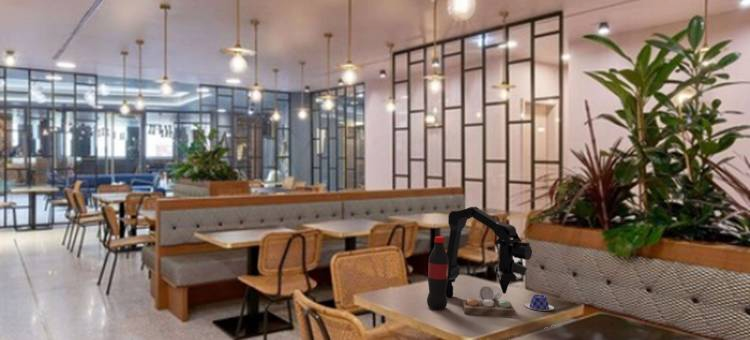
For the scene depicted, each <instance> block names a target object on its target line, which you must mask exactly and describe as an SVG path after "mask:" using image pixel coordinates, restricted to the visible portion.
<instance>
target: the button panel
mask: <svg viewBox="0 0 750 340" xmlns="http://www.w3.org/2000/svg"><path fill="white" fill-rule="evenodd" d="M461 301H462V303H461V305H462V309H463V313H464V315H476V314H479V316H481V315H482V316H493V315H496V316H498V317H510V316H513V317H512V318H514V317H515V316H516V310H515V309H514V306H513V305H512V303H511V302H510V306H509V308H503V307H498V306H499V301H496V300H494V305H493V307H486V306H483V300H478V306H468V305H467V299H462V300H461ZM480 314H481V315H480Z"/></svg>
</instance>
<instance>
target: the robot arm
mask: <svg viewBox="0 0 750 340" xmlns="http://www.w3.org/2000/svg"><path fill="white" fill-rule="evenodd" d="M472 218H473V219H474V220H476V221H478V222H479V223H481V224H482V225H483V226H486V227H487V228H489V229H490V230H492V232H493V233H494V235H495V236H496V237H498V239H497V240H495V241H494V244H497V245H498V257H497V260H498V261H497V262H498V263H497V264H496V265H495V266H494V272H495V273H497V272H498V273H497V274H496V278H497V281H498V282H499V286H500V289H501V291H502V295H503V294H504V295H505V294H507V291H508V287H509V285H510V282H517V275H516V274H515V272H516V273H518V274H520V275H522V276H525V275H526V272H527V270H528V267H526V266H525V265H523V262H522V261H520V260H517V261H515V260H514V258H515V259H521V260H526V261H529V260H530V259H531V258H532V255H533V250H532V247H531V246H530V242H524V241H522V240H521V238H520V236H519V235H518V232H517V228H516V227H515V226H514V225H512V224H510V223H507V222H504V221H499V220H498V219H496V218H495V217H493V216H491V215H489V214H488V213H486V212H485V211H483V210H481V209H480V208H479V207H477V206H469V207H467V208H465V209H459V210H452V211H450V212H449V214H448V220H447V221H448V226H449V230H450V231H449V238H448V242H447V247H446V248H447V249H446V254H447V256H448V260H449V263H448V283H447V288H446V296H447V299H448V298H449V299H452V298H453V296H454V285H453V283H455V282H456V280H457V278H459V277H458V276H459V275H460V270H461V266H460V265H459V264H458V262H457V260H458V255H459V254H458V253H459V248H460V244H461V243H460V242H461V236H462V231H463V229H465V228H464V227H466V224H467V221H468V219H472Z"/></svg>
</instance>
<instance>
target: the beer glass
mask: <svg viewBox="0 0 750 340" xmlns="http://www.w3.org/2000/svg"><path fill="white" fill-rule="evenodd" d="M502 295H503V292H502V289H501V287H499V286H497V285H488V284H487V285H484V286H482V287H480V289H479V291H478V297H479V298H480V301H483V300H485V299H488V300H493V301H499V300H501V297H502Z"/></svg>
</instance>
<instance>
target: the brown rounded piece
mask: <svg viewBox="0 0 750 340" xmlns="http://www.w3.org/2000/svg"><path fill="white" fill-rule="evenodd" d="M466 300H467V305H468V306H478V301H479V300H478V299H476V298H466Z"/></svg>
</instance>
